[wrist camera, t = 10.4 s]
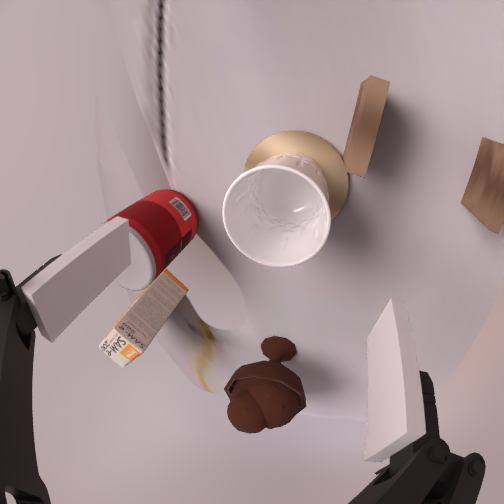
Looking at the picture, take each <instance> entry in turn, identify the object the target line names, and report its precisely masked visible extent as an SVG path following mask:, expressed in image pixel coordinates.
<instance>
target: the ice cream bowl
mask: <svg viewBox="0 0 504 504" xmlns="http://www.w3.org/2000/svg"><path fill="white" fill-rule="evenodd" d="M261 349H262V351H263V354H264V355H265V356H266V357H268V358H269V359H270V360H269V361H261V362H256V363H251V364H247V365H243V366H241V367H240V368H239V369H237V370H236V371H235V373H234V374H233V376H232V377H231V379H230V380H229V382H228V383H227V385H226V386H225V388H224V390H225V392H226V393H227V395H228V397H229V398H230V403H229V405H228V410H227V414H228V418H229V420H230V422H231V423H232V425H233V426H234V427H235V428H236V429H237V430H239V431H242V432H246V433H258V432H260V431H261V430H263V429H264V428H266V427H267V428H268V429H273V428H275V427H281V426H283V425H286V424H287V423H289V422H290V421H291V420H292V418H293V417H294V416H295V415H296V414H298V413H299V412H300V411H301V410H303V409H304V408H305V407H306V398H305V394H304V390H303V386H302V383H301V380H300V378H299V377H298V376H297V375H296V374H295V373H294V372H293V371H291V370H290V369H288V368H287V367H285V366H284V365H282V364H281V362H284V361H289V360H291V359H292V358H293V356H294V355H295V354H296V352H297V351H296V348H295V344H293V343H292V342H291V341H289V340H288V339H287V338H282V337H277V336H273V337H270V338H266V339H265V340H264V341H263V343H262V344H261Z"/></svg>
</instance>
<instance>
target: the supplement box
mask: <svg viewBox="0 0 504 504" xmlns="http://www.w3.org/2000/svg"><path fill="white" fill-rule="evenodd" d="M187 291H188V289H187V288H186V287H185V286H184V285H183V284H182V283H181V282H180V281H179V280H178V279H177V278H176V277H174V276H173V275H172V274H171V273H170V272H169V271H168V270H167V269H165V270H164V271H163V272H162V273H161V274H160V275H159V276H158V278H157V279H156V280H155V281H154V282H153V283H152V284H151V285H150V286H149V287H148V288H147V289H146V290H145V291H144V292H143V293H142V294H141V295H140V296H139V297H138V298H137V300H136V301H135V302H134V303H133V304H132V305H131V306H130V307H129V308H128V310H127V311H126V312H125V313H124V314H123V316H122V317H121V318H120V319H119V320H118V322H117V323H116V324H115V325H114V327H113V328H112V329H111V330H110V332H109V333H108V334H107V336H106V337H105V338H104V340H103V341H102V342H101V344H100V345H99V348H100V349H101V350H102V351H103V352H104V353H106V354H107V355H108V356H109V357H110V358H111V359H112V360H114V361H115V362H116V363H117V364H118V365H120V366H121V367H122V368H124V367H125V366H127V365H128V364H130V363H131V362H132V361H133V360H135V359H136V358H137V357H139V356H140V355H141V354H142V353H144V351H145V349H146V348H147V347H148V345H149V344H150V343H151V341H152V340H153V338H154V337H155V336H156V334H157V333H158V331H159V330H160V328H161V327H162V326H163V324H164V323H165V322H166V320H167V319H168V317H169V316H170V315H171V313H172V312H173V310H174V309H175V308H176V306H177V305H178V304H179V302H180V301H181V300H182V298H183V297H184V296H185V294H186V293H187Z"/></svg>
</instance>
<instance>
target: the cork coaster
mask: <svg viewBox="0 0 504 504" xmlns="http://www.w3.org/2000/svg"><path fill="white" fill-rule="evenodd" d="M283 152H299V153H302V154H304V155H306V156H308V157H311V158H312V159H313V160H314V161H315V162H316V163H317V164H318V165H319V167H320V168H321V169H322V171H323V174H324V178H325V180H326V183H327V189H328V194H329V203H330V214H331V221H332V220H333V219H334V218H335V217H336V216H337V215H338V214H339V212H340V211H341V209H342V208H343V206H344V204H345V201H346V198H347V194H348V187H349V183H348V174H347V172H346V168H345V164H344V162H343V160H342V158H341V156H340V155H339V153H338V152H337V151H336V150H335V148H334V147H333V146H332V145H330V144H329V143H328V142H327V141H325V140H324V139H322V138H321V137H319V136H317V135H314V134H311V133H308V132H304V131H285V132H280V133H277V134H274V135H272V136H270V137H268V138H266V139H265V140H264V141H262V142H261V143H260V144H259V145H258V146H257V147H256V148H255V149H254V150H253V151H252V153H251V154H250V156H249V158H248V160H247V163H246V166H245V170H244V173H245V172H247V171H248V170H250V169H251V168H253V167H255V166H256V165H258V164H259V163H261V162H263V161H265V160H267V159H269V158H271V157H273V156H277V155H279V154H281V153H283Z"/></svg>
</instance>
